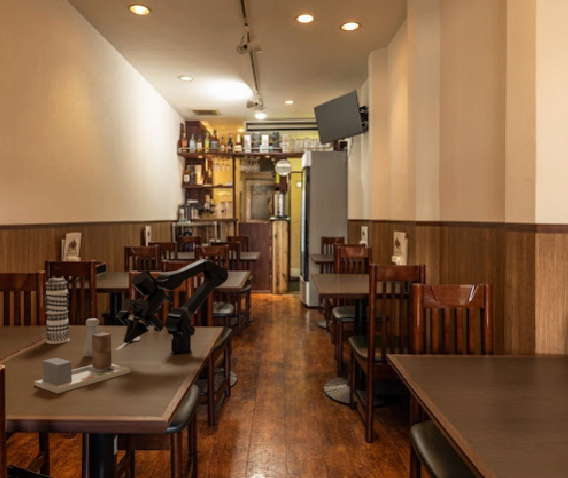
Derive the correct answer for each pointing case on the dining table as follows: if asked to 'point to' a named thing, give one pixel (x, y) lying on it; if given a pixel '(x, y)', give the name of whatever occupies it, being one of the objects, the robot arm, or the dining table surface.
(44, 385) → the gauge board
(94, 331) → the salt shaker
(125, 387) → the dining table surface
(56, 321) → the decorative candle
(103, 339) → the gauge slider
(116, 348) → the spoon
